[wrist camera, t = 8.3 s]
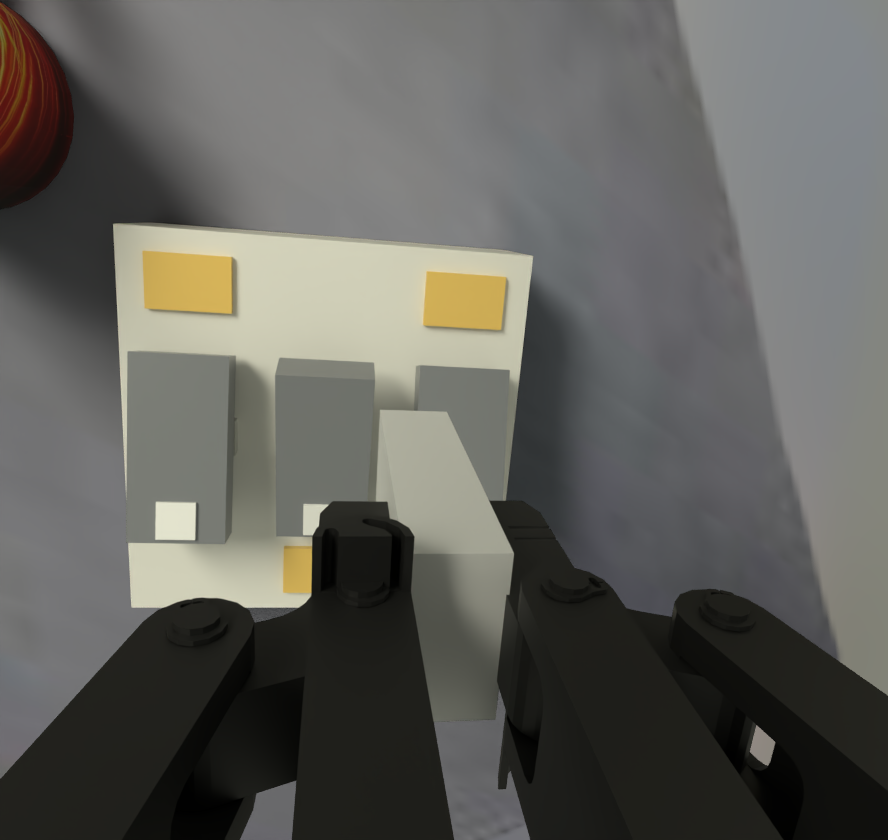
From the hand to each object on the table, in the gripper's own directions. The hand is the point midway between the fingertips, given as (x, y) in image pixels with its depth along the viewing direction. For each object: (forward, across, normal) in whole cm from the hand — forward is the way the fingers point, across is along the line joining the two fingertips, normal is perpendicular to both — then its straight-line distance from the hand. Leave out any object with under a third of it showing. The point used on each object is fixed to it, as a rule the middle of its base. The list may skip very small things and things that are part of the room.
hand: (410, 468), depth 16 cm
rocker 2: (+15, -2, -5) cm, 16 cm away
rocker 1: (+15, -8, -5) cm, 18 cm away
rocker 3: (+15, +4, -5) cm, 16 cm away
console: (+23, -2, -5) cm, 23 cm away
